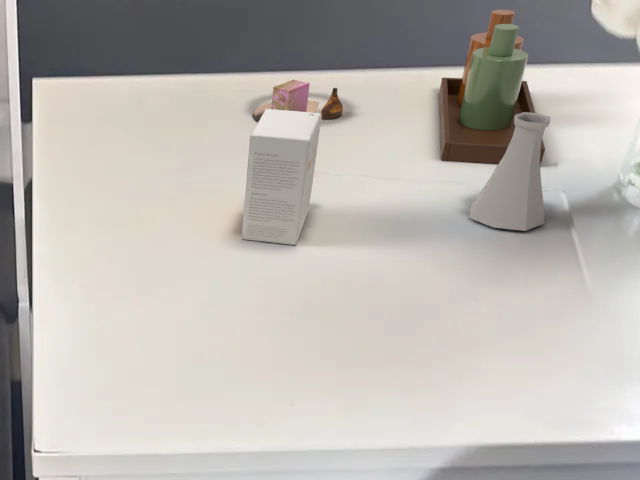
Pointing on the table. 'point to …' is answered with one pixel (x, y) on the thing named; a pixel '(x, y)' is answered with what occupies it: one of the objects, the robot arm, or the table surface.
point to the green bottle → (494, 82)
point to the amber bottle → (486, 43)
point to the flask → (515, 180)
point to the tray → (473, 142)
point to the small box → (280, 175)
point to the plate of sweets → (299, 101)
